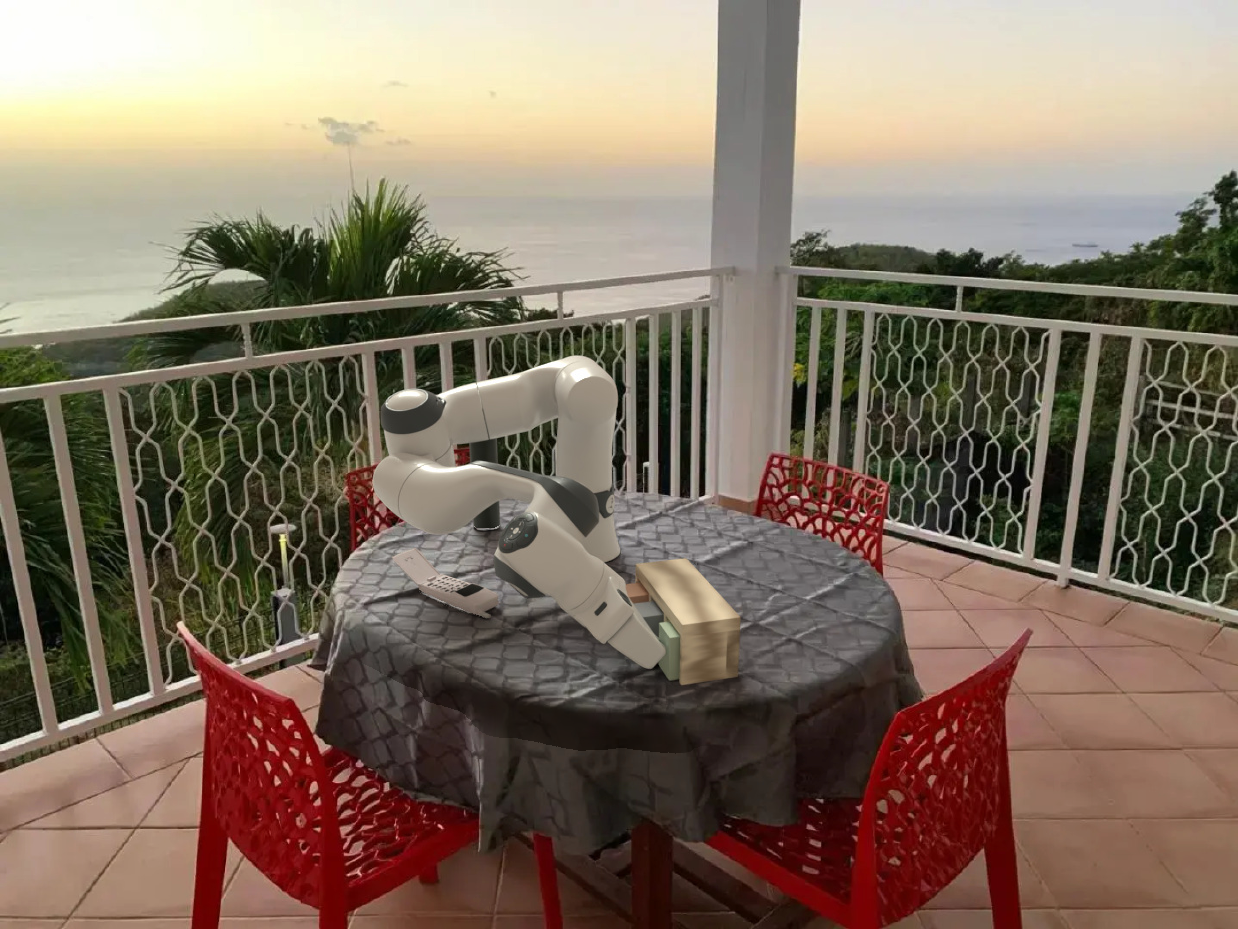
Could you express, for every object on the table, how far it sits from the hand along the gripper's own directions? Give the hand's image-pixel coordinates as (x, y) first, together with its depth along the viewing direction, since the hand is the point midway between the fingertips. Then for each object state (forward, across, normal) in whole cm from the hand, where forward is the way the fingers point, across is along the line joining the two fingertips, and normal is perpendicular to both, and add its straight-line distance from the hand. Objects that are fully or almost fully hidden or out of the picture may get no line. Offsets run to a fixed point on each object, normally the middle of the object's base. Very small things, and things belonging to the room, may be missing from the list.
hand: (660, 648), depth 135 cm
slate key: (+4, -8, -2) cm, 9 cm away
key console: (+8, -8, +1) cm, 11 cm away
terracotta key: (+4, -15, -2) cm, 16 cm away
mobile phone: (-16, -37, -23) cm, 46 cm away
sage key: (+6, 0, 0) cm, 6 cm away
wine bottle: (-8, -70, -15) cm, 72 cm away
